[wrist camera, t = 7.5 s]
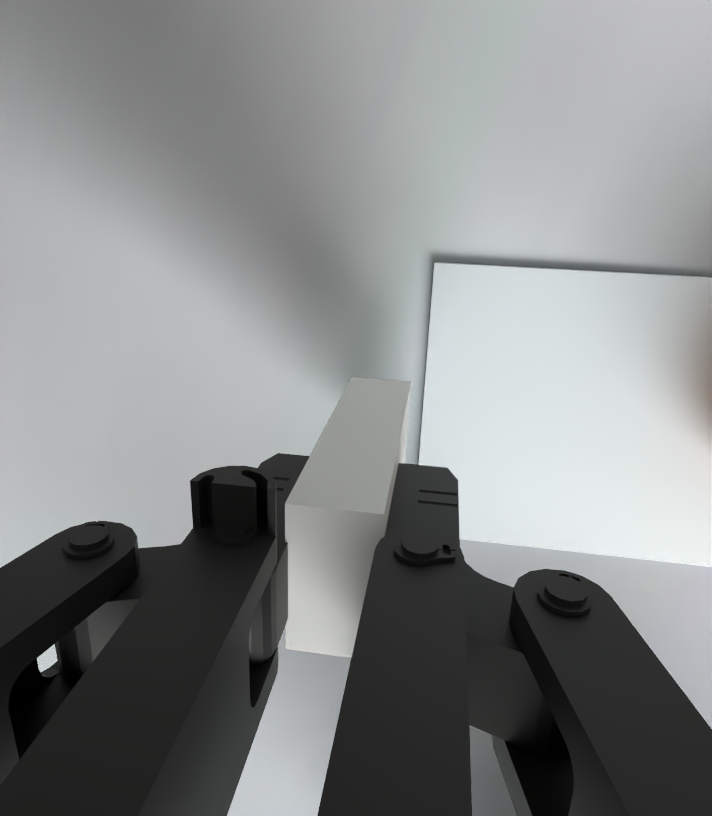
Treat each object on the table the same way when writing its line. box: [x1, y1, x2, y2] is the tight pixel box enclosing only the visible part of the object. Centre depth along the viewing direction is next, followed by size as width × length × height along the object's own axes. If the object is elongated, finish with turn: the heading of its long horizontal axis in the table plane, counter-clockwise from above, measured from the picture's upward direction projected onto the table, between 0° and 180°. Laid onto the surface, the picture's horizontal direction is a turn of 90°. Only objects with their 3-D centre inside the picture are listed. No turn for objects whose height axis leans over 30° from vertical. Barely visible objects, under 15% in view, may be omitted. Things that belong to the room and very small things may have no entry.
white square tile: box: [418, 262, 712, 567], centre depth 16 cm, size 9×8×1 cm
